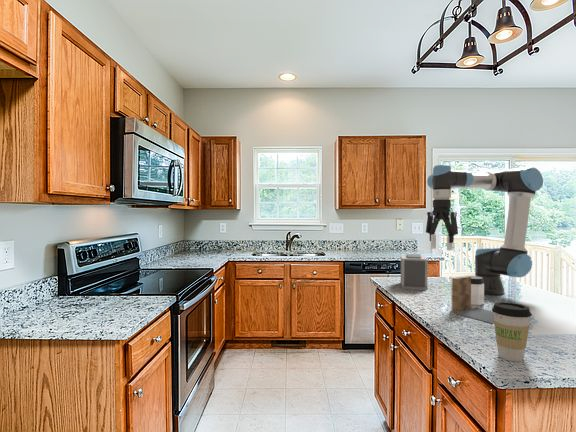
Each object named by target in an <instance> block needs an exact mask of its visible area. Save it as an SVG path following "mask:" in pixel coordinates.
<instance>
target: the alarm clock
mask: <svg viewBox="0 0 576 432" xmlns="http://www.w3.org/2000/svg"><path fill="white" fill-rule="evenodd" d="M428 266H429V265H428V258H427V257H426V256H424V255H421V253H406V255H400V285H401V289H402V290H412V291H413V290H415V291H428Z"/></svg>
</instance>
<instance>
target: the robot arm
mask: <svg viewBox="0 0 576 432" xmlns="http://www.w3.org/2000/svg"><path fill="white" fill-rule="evenodd" d="M432 168H433V169H432V174H430V175H429V176H428V178H427V180H426V181H427V182H426V183H427V187H429V188H430V189H432V199H433V200H432V211H427V212H426V214H427V218H426V219H427V221H426V228H425V233H427V234H429V241H430V249H433V250H434V249H435V250H436V249H437V234H436V231H437V228H438V226H439V223H440V221H441V220H442V222H443V223H444V225H445V229H446V231H447V236H446V251H452V250H453V243H454V241H455V240H454V239H455V238H454V237H455V236H456V235H458V234H459V231H458V230H459V228H458V222H457V214H458V212H457V211H451V207H452V206H451V205H452V202H451V201H452V200H451V197H452V189H483V190H485V191H488V192H490V191H492V192H493V191H494V192H499V193H500V192H501V193H507V195H508V196H509V204H508V205H509V206H508V212H507V218H506V228H505V233H504V240H503V241H504V242H503V244H502V245H501V246H500V247H493V248H490V247H487V248H485V247H484V248H477V249H476V250H475V257H474V266H475V267H474V271H475V273H474V274H475V275H474V276H478V277H482V278H483V284H484V295H494V296H495V295H503V294H505V287H504V284H503V282H502V279H501V275H502V276H506V277H511V278H523V277H525V276H527V275H528V274H529V272H530V273H531V270H532V267H533V260H532V258H531V257H532V256H530V255H529V254H528V250H527V248H526V247H525V246H526V237H527V232H528V231H527V230H528V225H529V224H528V223H529V217H530V216H529V215H530V208H531V201H532V199H533V198H534V197H536V192H537V191H539V190H541V188H543V185H544V177H543V174H542V173H541V171H540V170H539V169H538V168H536V167H534V166H529V167H527V166H524V167H521V168H520V167H519V168H511V169H504V170H497V171H494V172H493V171H492V172H491V171H489V172H485V173H472V172H471V171H469V170H464V169H463V170H460V169H459V170H457V169H456V170H454V169H452V167H451V165H450V164H438V165H437V164H436V165H434V166H433V167H432Z"/></svg>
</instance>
